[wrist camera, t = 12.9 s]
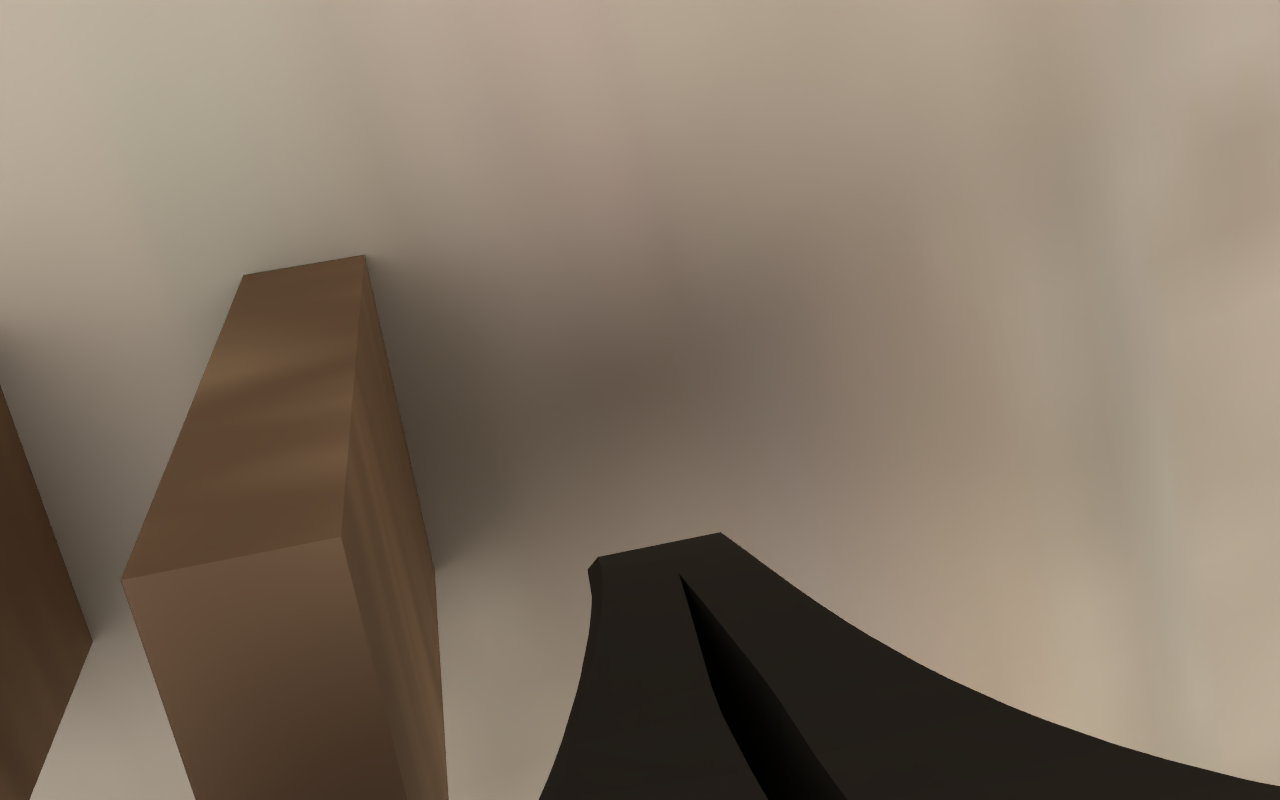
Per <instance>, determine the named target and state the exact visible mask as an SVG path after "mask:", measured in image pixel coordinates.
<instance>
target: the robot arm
mask: <svg viewBox="0 0 1280 800" xmlns="http://www.w3.org/2000/svg"><path fill="white" fill-rule="evenodd" d="M588 575H589V581H590V587H591V594H592V610H591V620H590V629H589V636H588V641H587V646H586V652H585V657H584V662H583V667H582V672H581V677H580V681H579V685H578V689H577V693H576V696H575V699H574V703H573V706H572V710H571V713H570V716H569V720H568V723H567V726H566V730H565V733H564V736H563V740H562V742H561V745H560V748H559V751H558V754H557V756H556V759H555V762H554V765H553V767H552V770H551V772H550V775H549V777H548V780H547V782H546V784H545V787H544V789H543V791H542V794H541V796H540V798H539V800H1280V786H1275V785H1270V784H1264V783H1259V782H1254V781H1250V780H1245V779H1241V778H1237V777H1233V776H1229V775H1225V774H1221V773H1217V772H1213V771H1209V770H1205V769H1201V768H1197V767H1194V766H1190V765H1186V764H1182V763H1178V762H1174V761H1170V760H1166V759H1163V758H1159V757H1156V756H1152V755H1149V754H1146V753H1142V752H1139V751H1136V750H1132V749H1129V748H1125V747H1122V746H1119V745H1116V744H1112V743H1109V742H1106V741H1104V740H1101V739H1098V738H1095V737H1092V736H1089V735H1086V734H1083V733H1081V732H1078V731H1075V730H1072V729H1069V728H1066V727H1063V726H1060V725H1058V724H1055V723H1052V722H1049V721H1046V720H1044V719H1041V718H1038V717H1036V716H1033V715H1031V714H1028V713H1026V712H1023V711H1021V710H1018V709H1016V708H1013V707H1011V706H1008V705H1006V704H1004V703H1001V702H999V701H997V700H995V699H993V698H990V697H988V696H986V695H984V694H981V693H979V692H977V691H975V690H973V689H970V688H968V687H966V686H964V685H961V684H959V683H957V682H955V681H953V680H950V679H948V678H946V677H944V676H942V675H940V674H938V673H936V672H934V671H932V670H930V669H928V668H926V667H924V666H923V665H921V664H919V663H917V662H915V661H913V660H911V659H910V658H908V657H906V656H904V655H903V654H901V653H899V652H897V651H896V650H894V649H892V648H890V647H888V646H887V645H885V644H883V643H881V642H880V641H878V640H876V639H874V638H872V637H871V636H869V635H867V634H866V633H864V632H863V631H861V630H859V629H858V628H856V627H854V626H853V625H851V624H849V623H848V622H846V621H845V620H843V619H842V618H840V617H839V616H837V615H836V614H834V613H833V612H831V611H830V610H828V609H826V608H825V607H823V606H822V605H820V604H819V603H817V602H816V601H814V600H813V599H812V598H810V597H809V596H807V595H806V594H804V593H803V592H802V591H800V590H799V589H797V588H796V587H795V586H793V585H792V584H790V583H789V582H788V581H786V580H785V579H784V578H782V577H781V576H779V575H778V574H777V573H775V572H774V571H773V570H771V569H770V568H768V567H767V566H766V565H764V564H763V563H762V562H760V561H759V560H758V559H756V558H755V557H754V556H752V555H751V554H750V553H748V552H747V551H746V550H744V549H743V548H742V547H740V546H739V545H737V544H736V543H735V542H733V541H732V540H730V539H729V538H728V537H726V536H725V535H723V534H722V533H721V532H720V533H715V534H710V535H705V536H700V537H695V538H690V539H685V540H680V541H675V542H670V543H665V544H660V545H655V546H650V547H645V548H640V549H636V550H631V551H626V552H621V553H616V554H611V555H606V556H601V557H597V559H596V560H595V561H594V563H593V564H592V565H591V566H590V568H589V569H588Z"/></svg>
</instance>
